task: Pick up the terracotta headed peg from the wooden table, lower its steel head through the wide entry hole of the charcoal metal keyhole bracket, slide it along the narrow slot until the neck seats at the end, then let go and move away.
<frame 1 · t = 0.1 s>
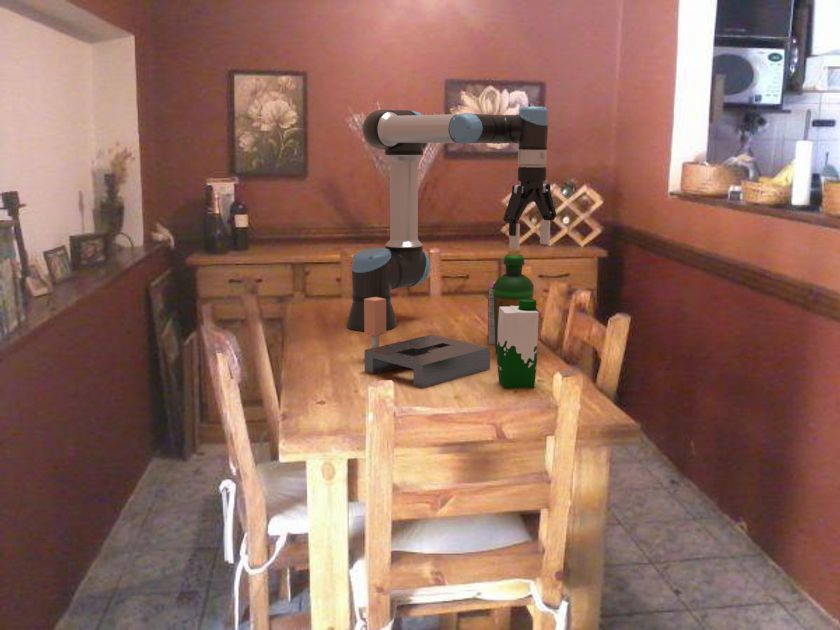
hand: (529, 246, 228), 28 cm above the table, tool pointing down, fingers open, 13 cm apart
keyhole peg: (375, 359, 219), on the table
bottle: (511, 355, 224), on the table
candy bar box: (497, 341, 240), on the table
milk carton: (516, 385, 197), on the table
keyhole bracket: (427, 370, 209), on the table
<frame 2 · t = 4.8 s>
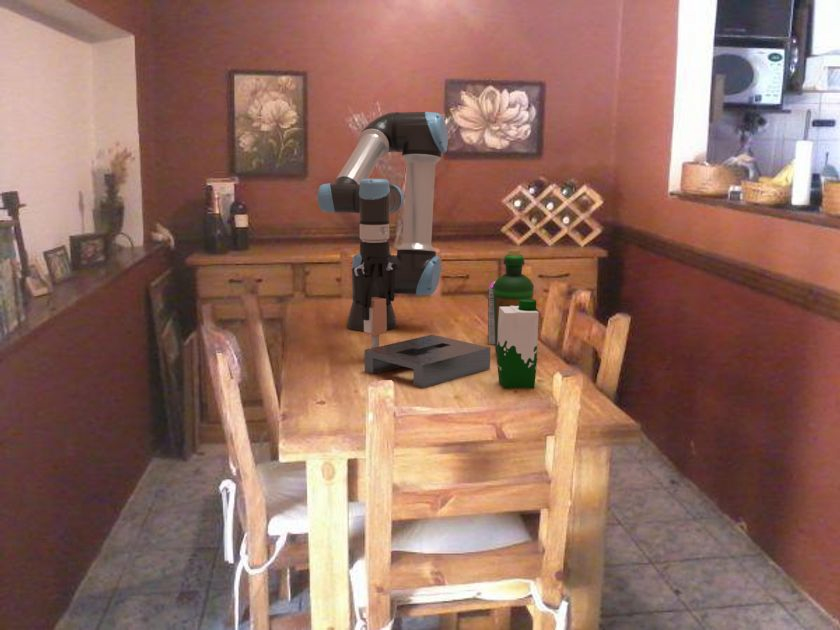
hand: (375, 330, 217), 8 cm above the table, tool pointing down, fingers closed on keyhole peg, 4 cm apart
keyhole peg: (375, 359, 219), on the table, touching gripper
everything else where it was.
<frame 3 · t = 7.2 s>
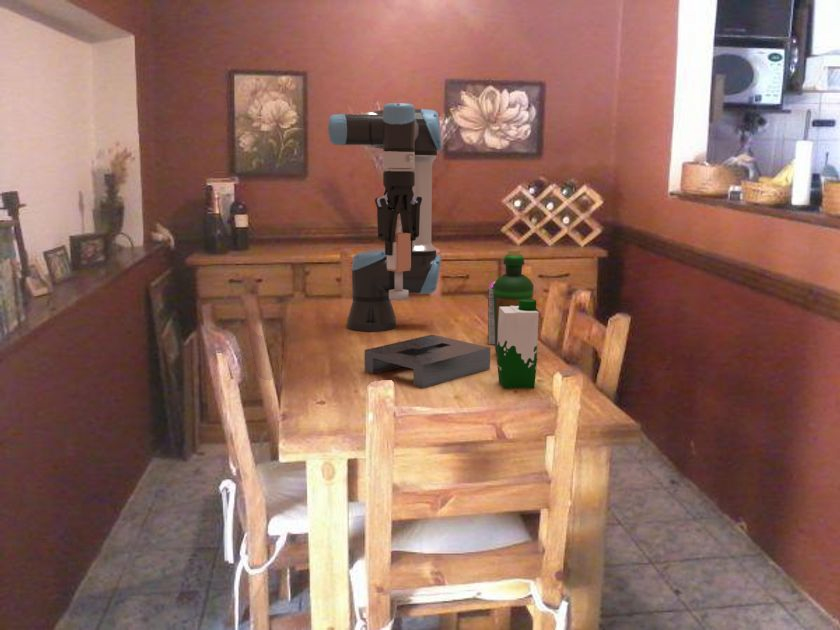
hand: (398, 267, 204), 26 cm above the table, tool pointing down, fingers closed on keyhole peg, 4 cm apart
keyhole peg: (398, 298, 206), point 18 cm above the table, touching gripper
everything else where it was.
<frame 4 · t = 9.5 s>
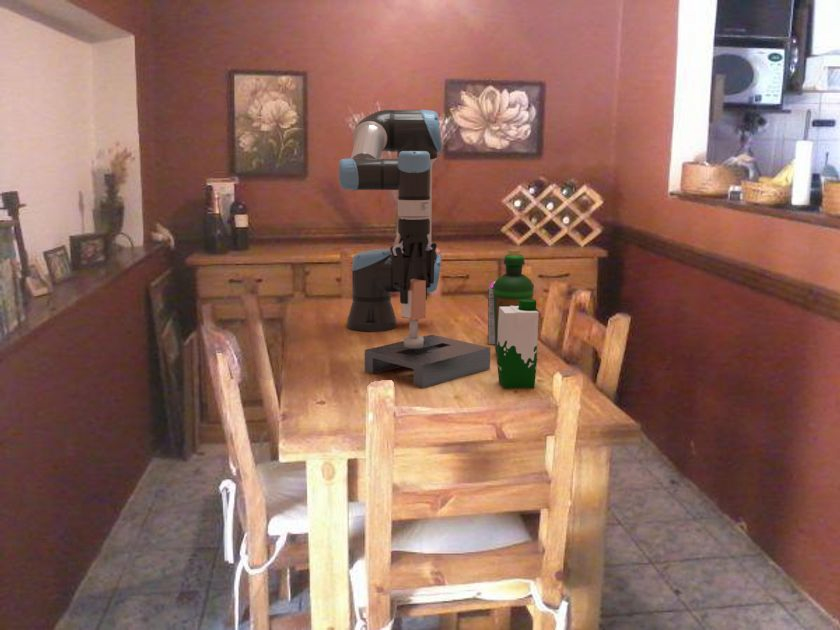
hand: (413, 315, 202), 15 cm above the table, tool pointing down, fingers closed on keyhole peg, 4 cm apart
keyhole peg: (413, 346, 204), point 7 cm above the table, touching gripper
everything else where it was.
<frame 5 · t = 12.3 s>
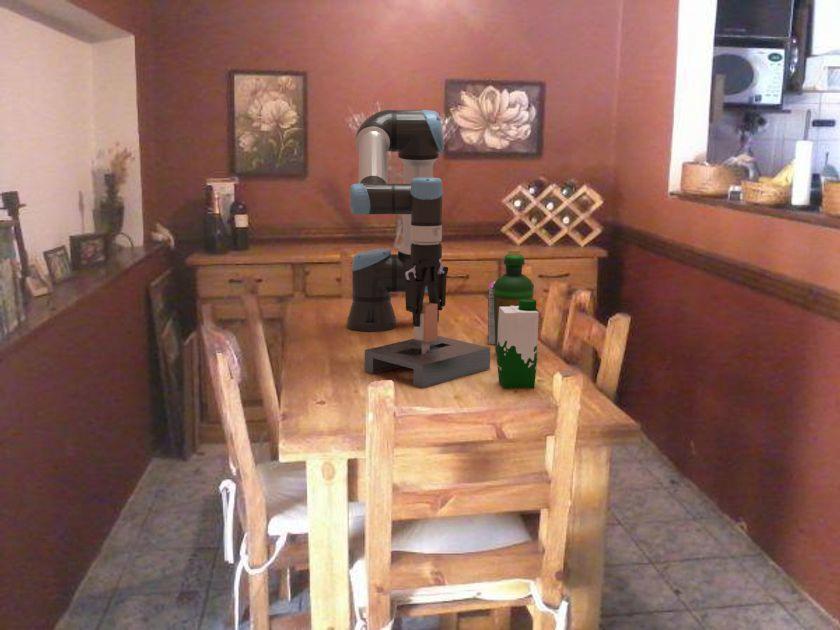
hand: (425, 337, 206), 8 cm above the table, tool pointing down, fingers closed on keyhole peg, 4 cm apart
keyhole peg: (425, 367, 208), point 1 cm above the table, touching gripper
everything else where it was.
when the fingers open (9 cm above the table, at t = 14.5 s): keyhole peg stays where it is, on the table.
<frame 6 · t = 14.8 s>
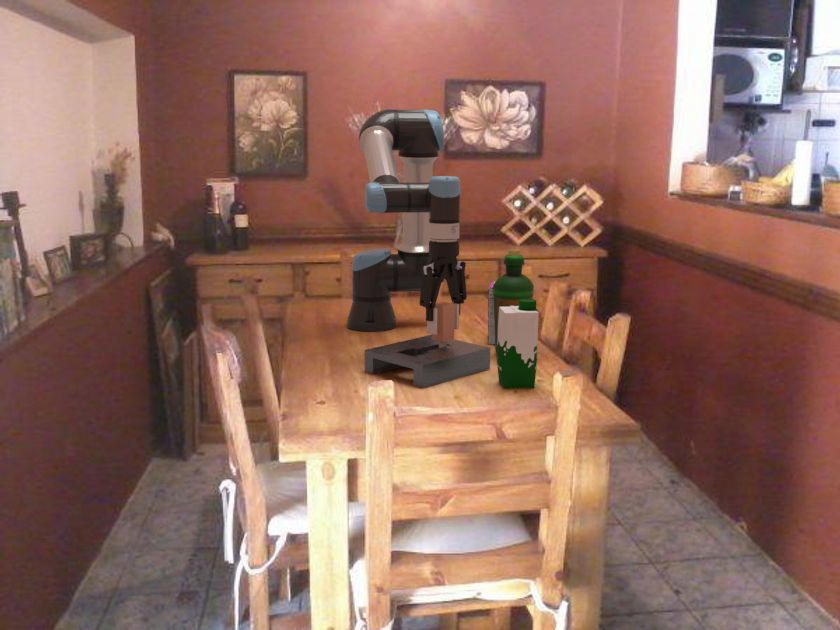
hand: (443, 331, 211), 9 cm above the table, tool pointing down, fingers open, 7 cm apart
keyhole peg: (442, 366, 212), on the table
everything else where it was.
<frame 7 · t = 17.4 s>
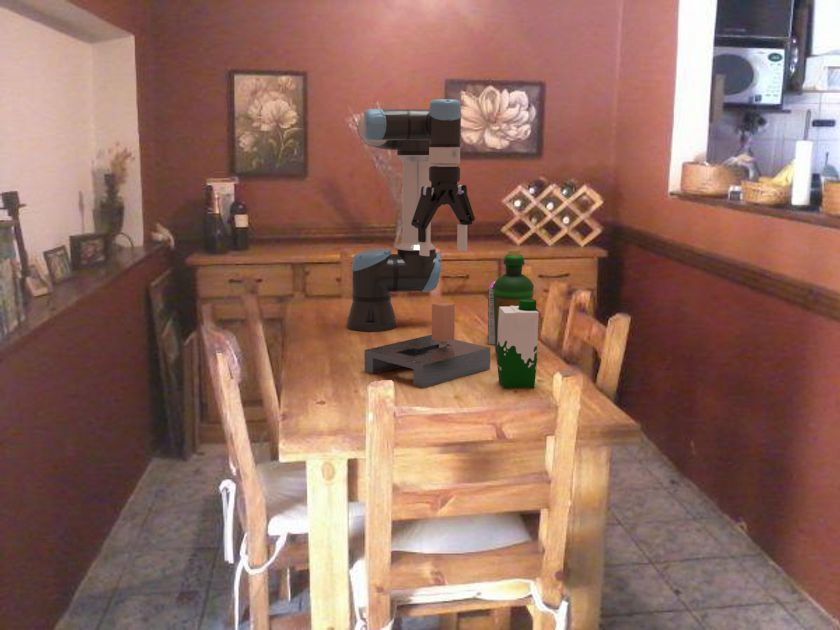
hand: (443, 253, 207), 29 cm above the table, tool pointing down, fingers open, 13 cm apart
nothing on the table moved.
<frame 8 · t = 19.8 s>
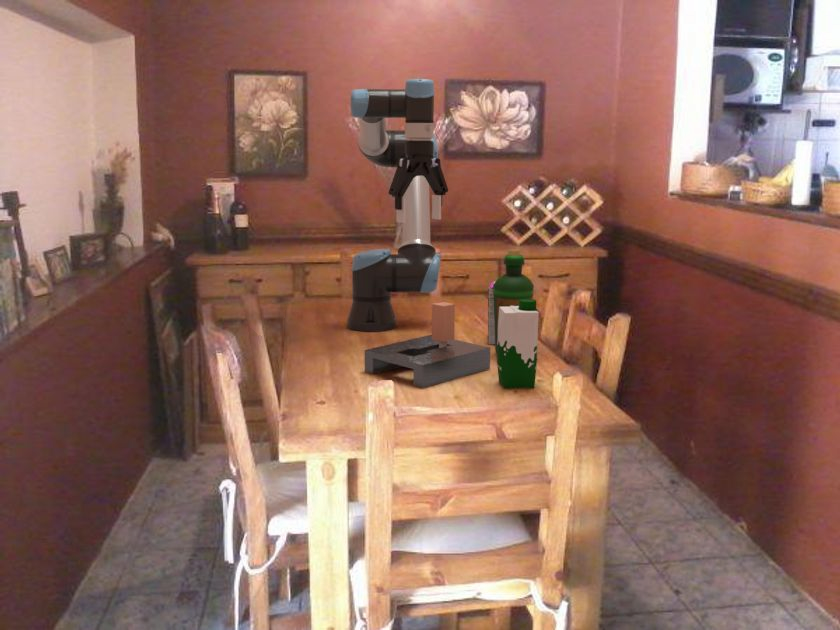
hand: (419, 220, 226), 35 cm above the table, tool pointing down, fingers open, 13 cm apart
nothing on the table moved.
at the end: keyhole peg 0.2 cm from the target spot on the keyhole bracket, point 0.0 cm above the keyhole bracket's base; keyhole peg tilted 0°; the gripper is holding nothing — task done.
